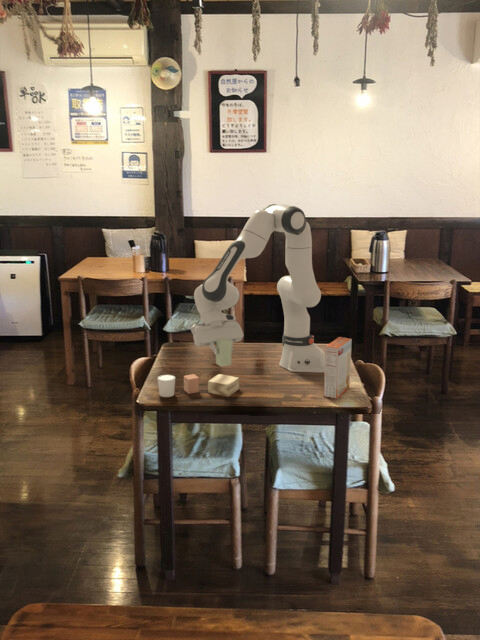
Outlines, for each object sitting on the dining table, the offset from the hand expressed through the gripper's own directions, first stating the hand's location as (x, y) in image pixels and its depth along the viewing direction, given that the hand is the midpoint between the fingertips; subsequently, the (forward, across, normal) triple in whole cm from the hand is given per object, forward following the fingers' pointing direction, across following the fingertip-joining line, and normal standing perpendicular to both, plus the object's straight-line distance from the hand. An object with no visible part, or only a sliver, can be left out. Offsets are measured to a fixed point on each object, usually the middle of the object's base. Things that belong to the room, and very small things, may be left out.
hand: (224, 352), depth 239 cm
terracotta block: (+7, -11, +16) cm, 20 cm away
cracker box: (+26, +39, -3) cm, 47 cm away
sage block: (+3, 0, +4) cm, 5 cm away
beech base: (+11, 0, +12) cm, 16 cm away
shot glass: (+7, -21, +16) cm, 28 cm away
